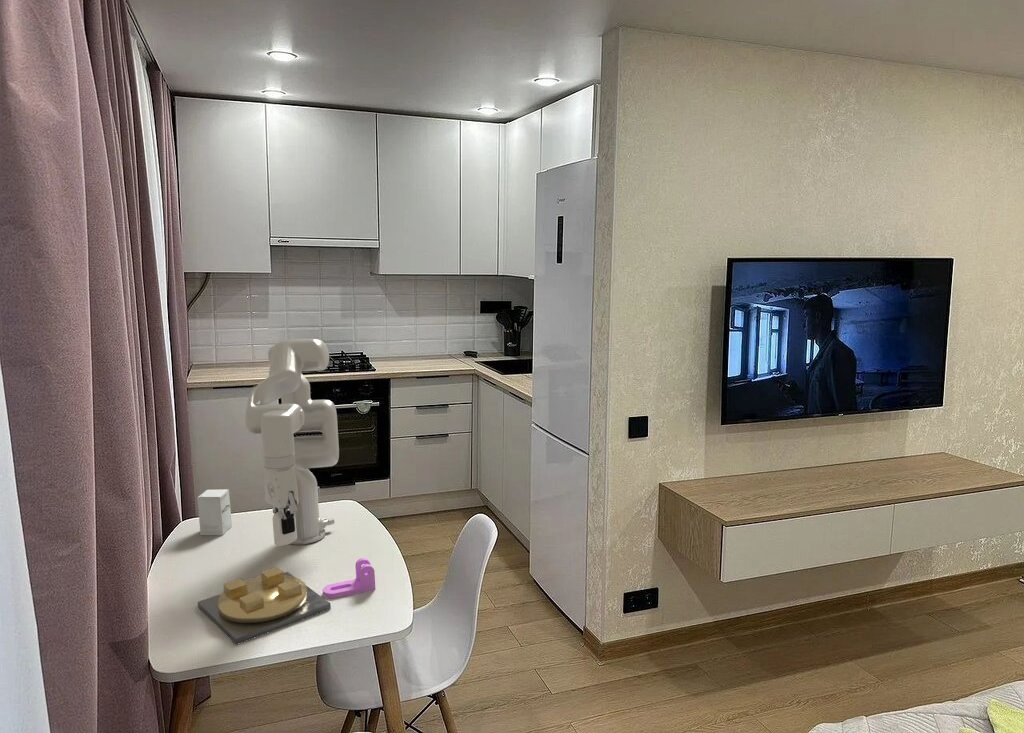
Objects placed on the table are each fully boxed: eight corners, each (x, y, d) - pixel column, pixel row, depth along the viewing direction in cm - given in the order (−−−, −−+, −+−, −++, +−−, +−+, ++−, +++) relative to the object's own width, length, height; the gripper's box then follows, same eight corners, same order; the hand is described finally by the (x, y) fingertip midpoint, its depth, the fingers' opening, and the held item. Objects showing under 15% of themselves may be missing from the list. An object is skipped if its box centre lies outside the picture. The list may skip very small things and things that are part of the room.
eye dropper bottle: (273, 541, 191) (269, 496, 189) (296, 537, 193) (292, 492, 191) (275, 547, 187) (271, 501, 185) (298, 543, 189) (294, 497, 187)
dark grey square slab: (287, 576, 205) (287, 571, 205) (330, 608, 188) (330, 602, 187) (198, 607, 190) (197, 601, 189) (236, 645, 172) (235, 638, 172)
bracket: (370, 580, 203) (368, 556, 201) (375, 589, 198) (374, 564, 196) (321, 591, 197) (319, 566, 196) (325, 600, 192) (323, 575, 191)
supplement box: (223, 535, 234) (219, 497, 232) (199, 535, 234) (196, 497, 232) (232, 526, 241) (229, 488, 239) (210, 526, 242) (206, 488, 239)
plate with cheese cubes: (284, 574, 203) (283, 558, 202) (321, 601, 187) (320, 585, 187) (205, 600, 189) (204, 584, 188) (239, 632, 174) (237, 614, 173)
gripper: (251, 456, 190) (257, 525, 194) (279, 471, 178) (285, 544, 181) (279, 450, 195) (284, 517, 198) (309, 464, 183) (314, 535, 186)
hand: (285, 529), depth 190 cm, fingers closed on eye dropper bottle, 3 cm apart
